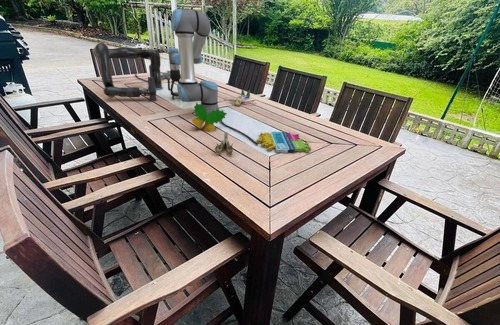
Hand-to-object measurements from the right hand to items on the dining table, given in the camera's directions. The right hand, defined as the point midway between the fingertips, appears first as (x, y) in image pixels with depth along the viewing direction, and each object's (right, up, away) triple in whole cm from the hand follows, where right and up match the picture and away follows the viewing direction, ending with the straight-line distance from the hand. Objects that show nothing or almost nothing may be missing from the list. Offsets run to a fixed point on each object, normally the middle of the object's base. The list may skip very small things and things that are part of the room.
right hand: (177, 98), depth 216 cm
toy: (+53, -2, +5) cm, 54 cm away
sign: (+79, -42, -64) cm, 110 cm away
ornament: (+35, -32, -52) cm, 70 cm away
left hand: (-14, +2, -10) cm, 17 cm away
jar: (-17, -3, -8) cm, 19 cm away
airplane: (-28, +39, +66) cm, 82 cm away
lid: (0, +4, -2) cm, 4 cm away
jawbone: (+47, -47, -78) cm, 102 cm away
